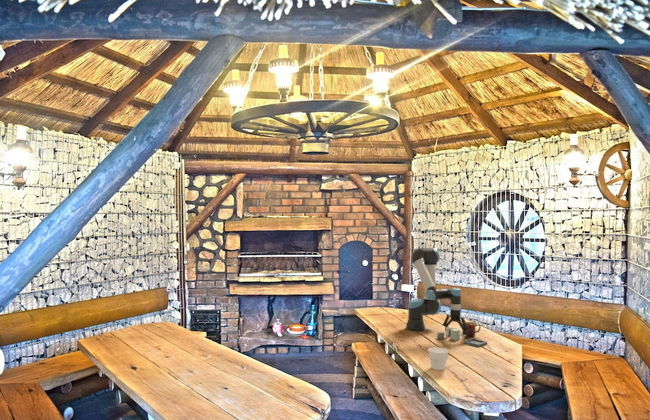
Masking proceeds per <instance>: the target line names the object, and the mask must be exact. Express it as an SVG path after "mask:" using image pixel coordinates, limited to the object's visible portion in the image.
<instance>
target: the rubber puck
mask: <svg viewBox="0 0 650 420" xmlns="http://www.w3.org/2000/svg"><path fill="white" fill-rule="evenodd" d="M436 336H437V337H436V339H437V340H445V333H444V332H440V331H439V332H437V335H436Z"/></svg>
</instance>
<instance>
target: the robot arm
mask: <svg viewBox="0 0 650 420" xmlns="http://www.w3.org/2000/svg"><path fill="white" fill-rule="evenodd" d="M440 259H441V255H440V252H439V251H438V249H437V248H435V247H427V248H423V247H422V248H421V247H420V248H419V247H418V248H417V249H415V250H414V251H413V252H412V254H411V263H412V265H413V267H414V268H416V271H417V273H418V275H419V277H420V279H421V282H422V284H423V286H424V297H423V298H414V299H410V300H409V301H408V306H407V308H408V312H407V313H408V318H407V322H406V325H405V329H406V330H407V331H411V332H424V331H425V330H426V326H425V322H424V316H434V315H438V314H439V313H440V312H441V309H442V304H441V301H440V300H449V301H450V312H449V313H447V314H446V317H445V319H444V321H443V323H442V327H443V326H444V330H445V336H446V337H447V336H450V335H449V328H450V326H449V325H451V323H452V322H455V323H457V324H458V325H459V327H460V328H461V340H463V341H464V340H465V334H466V330H468V328H467V325H466V322H467V321H466V320H465V316H461V313H462V311H461V308H462V307H461V306H462V290H461V288H458V287H452V288H447V287H444V288H442V289H441V288H440V289H437V287H436V267H437V265H438V262H439V261H440Z"/></svg>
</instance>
